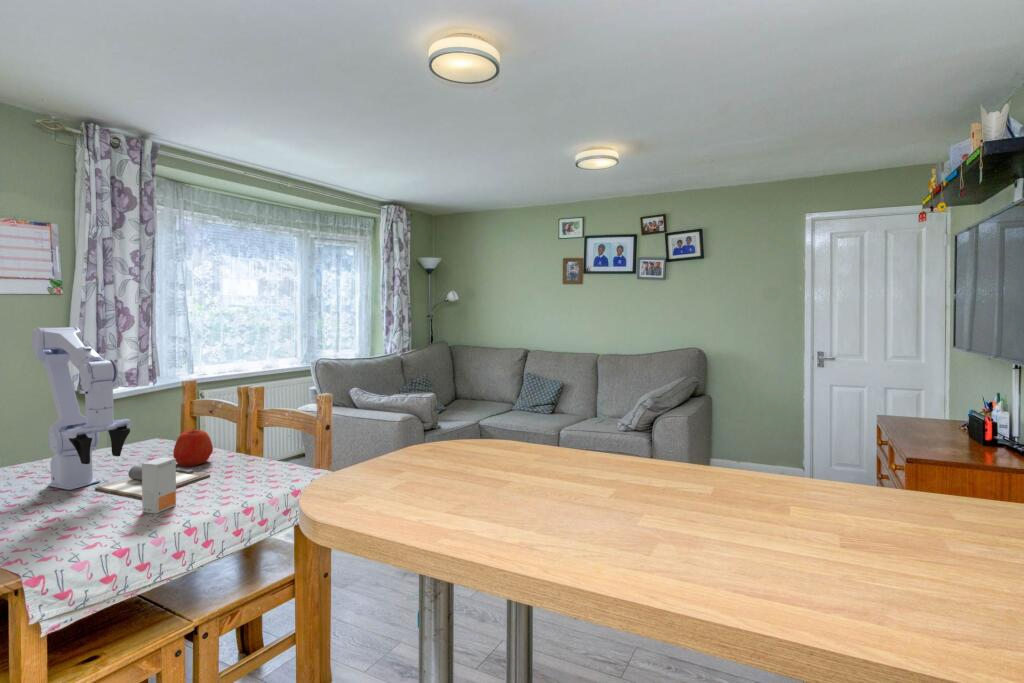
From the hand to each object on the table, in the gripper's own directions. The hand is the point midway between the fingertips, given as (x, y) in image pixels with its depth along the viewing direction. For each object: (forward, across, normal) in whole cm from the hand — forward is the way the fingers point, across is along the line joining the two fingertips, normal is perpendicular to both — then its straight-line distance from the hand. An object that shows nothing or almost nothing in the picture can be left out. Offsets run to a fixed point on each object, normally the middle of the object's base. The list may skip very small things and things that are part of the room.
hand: (101, 459), depth 141 cm
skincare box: (+10, -1, -22) cm, 24 cm away
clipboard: (+9, +12, -3) cm, 16 cm away
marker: (+8, +12, -3) cm, 15 cm away
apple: (+10, +30, +4) cm, 32 cm away
